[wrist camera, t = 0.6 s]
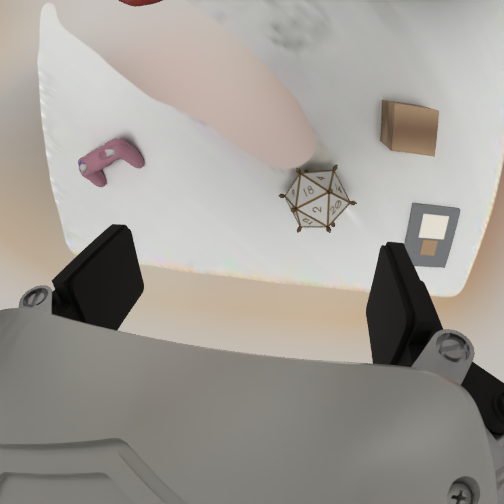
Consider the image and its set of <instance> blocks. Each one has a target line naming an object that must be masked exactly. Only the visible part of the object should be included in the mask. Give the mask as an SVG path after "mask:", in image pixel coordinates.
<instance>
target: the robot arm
mask: <svg viewBox="0 0 504 504" xmlns="http://www.w3.org/2000/svg"><path fill="white" fill-rule="evenodd" d="M52 282H53V285H54V287H55V290H54V291H53V292H52V290H51V288H50V287H48V286H37V287H34V288H32V289H30V290H29V291H27V292H26V293H25V294H24V295H23V297H22V298H21V299H20V302H19V308H11V309H4V310H0V504H504V383H503V382H501V381H500V380H498V379H497V378H495V377H494V376H492V375H491V374H490V373H488V372H487V371H485V370H484V369H482V368H481V367H479V366H478V365H476V364H475V363H474V362H472V361H473V358H474V354H475V353H474V347H473V345H472V343H471V342H470V340H469V339H468V338H467V337H466V336H464V335H463V334H462V333H460V332H457V331H455V330H449V329H444V330H443V328H442V325H441V323H440V320H439V318H438V315H437V312H436V310H435V308H434V305H433V303H432V300H431V298H430V295H429V293H428V291H427V288H426V286H425V284H424V282H423V281H420V279H419V276H418V274H417V272H416V270H415V267H414V265H413V263H412V261H411V259H410V256H409V254H408V252H407V250H406V248H405V246H404V244H403V243H396V242H387V243H386V246H383V245H382V246H381V248H380V252H379V257H378V262H377V266H376V270H375V275H374V279H373V283H372V287H371V291H370V295H369V299H368V303H367V308H366V317H367V323H368V330H369V337H370V344H371V351H372V358H373V364H368V363H353V362H337V361H321V360H307V359H296V358H285V357H274V356H266V355H257V354H249V353H241V352H234V351H227V350H220V349H213V348H206V347H200V346H194V345H188V344H182V343H176V342H170V341H165V340H160V339H155V338H150V337H145V336H140V335H135V334H131V333H126V332H121V331H117V330H118V328H119V327H120V325H121V323H122V322H123V320H124V319H125V318H126V316H127V315H128V313H129V312H130V310H131V309H132V307H133V306H134V304H135V303H136V301H137V300H138V298H139V297H140V296H141V294H142V293H143V290H144V283H143V279H142V275H141V271H140V267H139V263H138V259H137V255H136V251H135V246H134V242H133V237H132V233H131V230H130V229H128V227H127V226H126V225H116V224H112V225H111V226H110V227H108V228H107V229H106V230H105V231H104V232H103V233H102V234H101V235H99V236H98V237H97V238H96V239H95V240H94V241H93V242H92V243H91V244H89V245H88V246H87V247H86V248H85V249H84V250H83V251H82V252H81V253H80V254H79V255H78V256H77V257H76V258H75V259H73V261H71V262H70V263H69V264H68V265H67V266H66V267H65V268H64V269H63V270H62V271H61V272H60V273H59V274H58V275H57V276H56V277H55V278H54V279H53V280H52Z"/></svg>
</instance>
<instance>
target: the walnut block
mask: <svg viewBox="0 0 504 504" xmlns="http://www.w3.org/2000/svg"><path fill="white" fill-rule="evenodd" d="M438 116H439V111H438V110H434V109H430V108H427V107H423V106H418V105H412V104H406V103H399V102H393V101H385V100H382V123H381V139H380V141H381V142H382V143H383V144H385V145H386V146H387V147H388V148H389V149H390V150H391V151H398V152H406V153H414V154H421V155H428V156H434V157H435V148H436V139H437V128H438Z"/></svg>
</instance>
